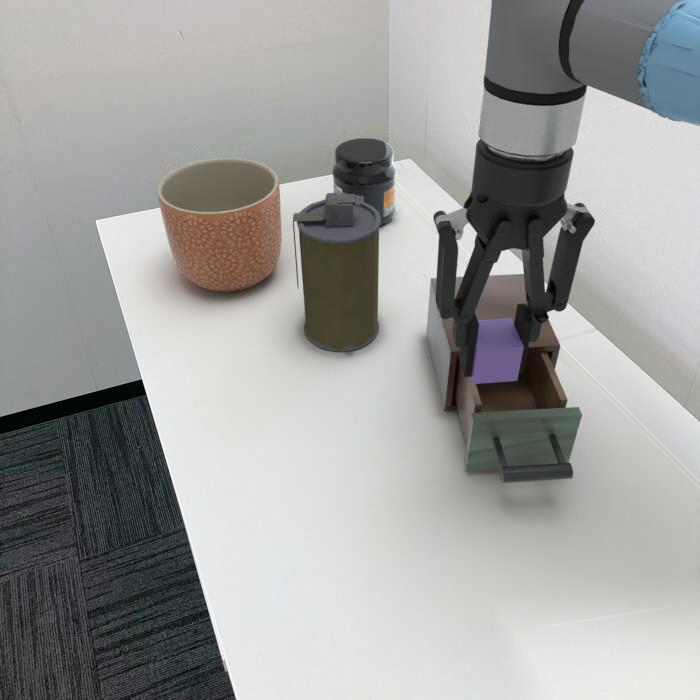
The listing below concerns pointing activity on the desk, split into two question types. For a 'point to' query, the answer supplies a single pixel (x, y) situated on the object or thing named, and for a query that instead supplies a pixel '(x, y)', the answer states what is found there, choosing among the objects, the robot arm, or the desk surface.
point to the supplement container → (367, 173)
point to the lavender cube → (497, 352)
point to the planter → (222, 221)
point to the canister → (339, 271)
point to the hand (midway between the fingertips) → (490, 365)
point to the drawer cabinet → (492, 305)
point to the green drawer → (518, 423)
